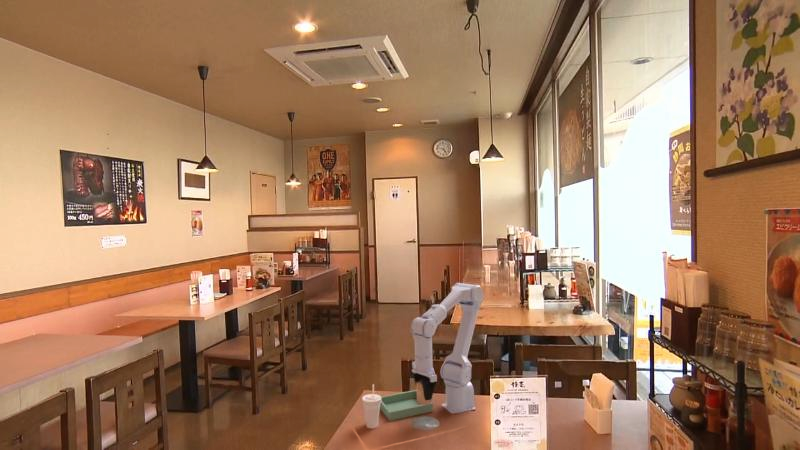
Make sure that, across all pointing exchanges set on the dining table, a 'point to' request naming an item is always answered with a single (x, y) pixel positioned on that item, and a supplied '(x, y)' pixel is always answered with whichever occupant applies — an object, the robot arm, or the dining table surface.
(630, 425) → the dining table surface
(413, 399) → the pale green open box
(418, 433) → the dining table surface
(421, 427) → the saucer
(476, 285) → the robot arm
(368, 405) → the smoothie
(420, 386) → the salmon pink cylinder
